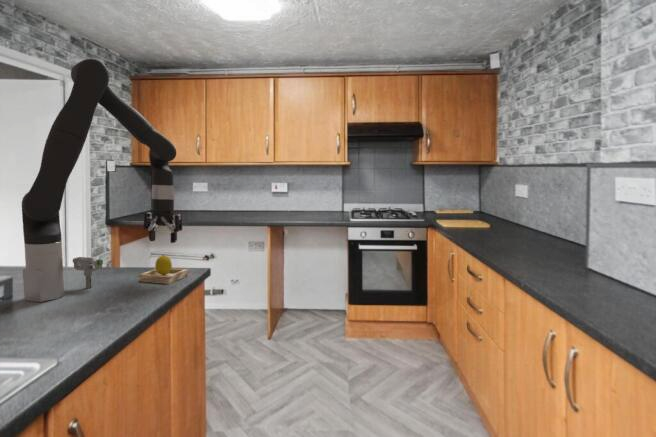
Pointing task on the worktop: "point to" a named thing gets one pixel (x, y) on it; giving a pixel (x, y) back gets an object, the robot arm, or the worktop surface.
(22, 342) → the worktop surface
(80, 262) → the mechanical component
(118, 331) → the worktop surface
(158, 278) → the tray
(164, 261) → the lemon
